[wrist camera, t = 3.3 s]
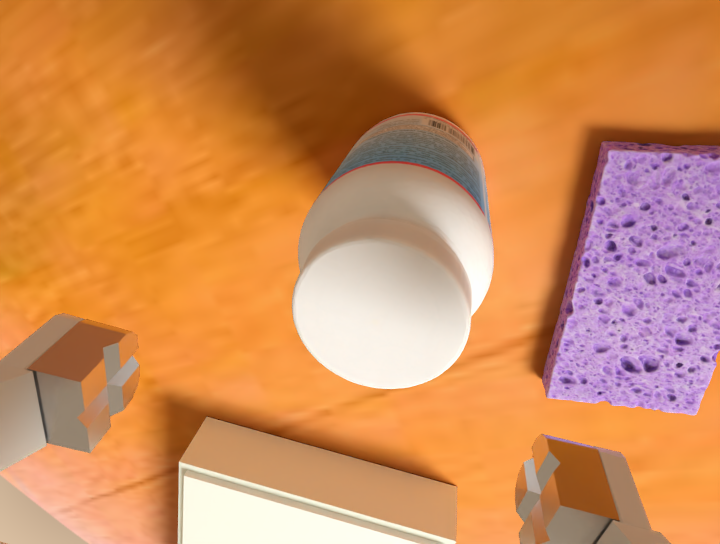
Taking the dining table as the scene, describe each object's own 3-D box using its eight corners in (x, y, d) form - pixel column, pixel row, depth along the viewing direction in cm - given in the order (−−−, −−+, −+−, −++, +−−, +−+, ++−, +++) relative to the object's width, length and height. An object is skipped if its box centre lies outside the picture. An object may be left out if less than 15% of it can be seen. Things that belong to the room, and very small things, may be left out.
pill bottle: (321, 153, 23) (215, 270, 13) (445, 81, 21) (428, 160, 11) (388, 262, 25) (339, 434, 15) (508, 208, 23) (541, 370, 13)
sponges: (539, 374, 27) (544, 398, 25) (598, 132, 21) (609, 144, 19) (683, 392, 26) (697, 419, 24) (788, 144, 20) (817, 158, 18)
